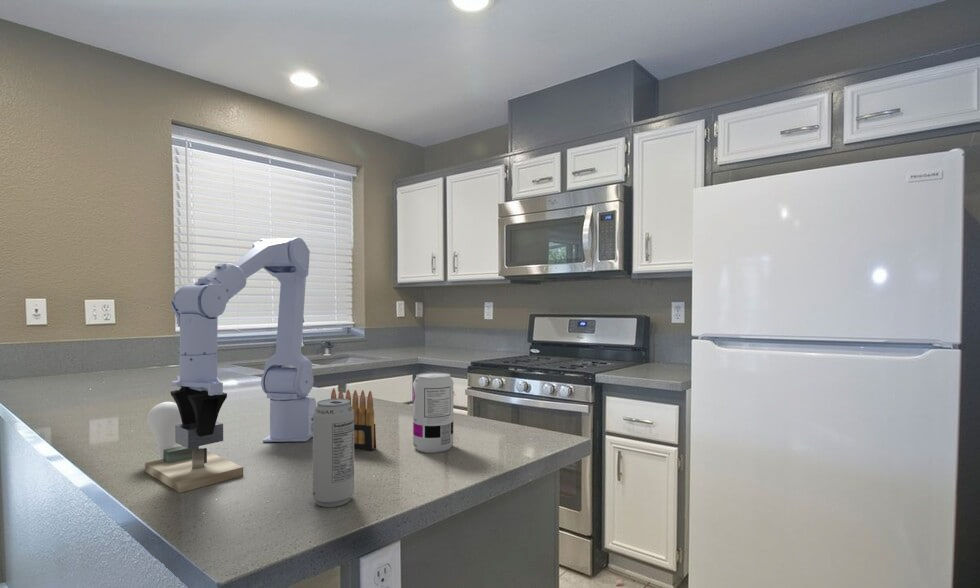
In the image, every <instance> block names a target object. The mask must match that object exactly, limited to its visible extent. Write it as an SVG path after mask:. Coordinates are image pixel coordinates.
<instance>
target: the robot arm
mask: <svg viewBox="0 0 980 588" xmlns="http://www.w3.org/2000/svg"><path fill="white" fill-rule="evenodd" d="M310 253H311V251H310V249H309V247H308V245H307V243H306V242H305V240H304V239H302V238H301V237H292V238H260V239H259V240H258V241H256V242H253V244H252V247H251V249H249V250H248V251H247V252H246V253H245V254H244V255H243V256H242V257H240V258H239V259H238V260H237V261H236V262H235V263H217V264H216V265H215V266H214V268H215V269H214V270H213V271H211V272H209V273H208V274H206V275H205V276H200V277H199V278H198V279H197V281H196V282H194V284H185V285H182V286H181V287H179V289H178V290H176V292H175V293H174V295H173V299H172V300H171V301H170V306H171V309H172V311H173V313H174V314H175V317H176V325H177V327H178V328H179V367H178V368H179V370H178V371H179V375H176V377H175V378H176V380H173V381H171V386H173V387H178V388H179V389H175V390H172V391H170V395H171V397H172V399H173V400H174V401H175V402H174V403H176V404H177V406H178V409H179V413H180V416H181V421H182V424H185V423H190V422H196V427H197V432H198V435H199V436H200V437H201V436H206V435H211V434H213V432H214V428H215V425H216V421H217V422H218V417H219V414H220V412H221V411H220V410H221V408H222V406H223V404H224V402H225V401H226V400H227V398H228V393H227V392H223V391H224V383H223V382H222V381H220V378H219V377H218V327H219V326H218V317H219V316H221V315H223V314H224V312H225V309H226V307H227V303H229V302H230V299H232V298H233V297H234V296H236V295H237V294H238V293H239V292H240V291H242V290H243V289H245V287H246V286H247V279H248V278H249V277H251V276H253V275H254V274H255V273H257V272H258V271H261V270H262V269H264V270H265V271H266V272H267V273H268V274H269V275H271V277H274V278H276V279H277V280H278V282H279V283H280V288H279V299H278V301H279V302H278V315H277V318H278V319H277V330H276V345H275V346H276V347H275V353H274V354H273V355H271V356H270V357H269V358H268V359H267V360H266V361H265V364H264V365H265V366H264V370H263V372H262V376H261V378H260V384H261V389H262V392H263V393H264V394H266V399H269V434H268V435H267V436H266V437H264V438H263V439H262V442H264V443H267V442H268V443H271V442H272V443H275V442H277V443H278V442H279V443H280V442H281V443H284V442H285V443H286V442H287V443H288V442H308V441H309V440H310V439H311V438H313V413H314V411H315V409H316V407H317V400H316V398H315V397H309V394H310V392H311V391H312V389H313V386H314V382H315V380H314V374H313V365H312V364H313V362H312V361H311V360H310V359H309V358H308V357H306V356H305V355H304V354H302V345H303V344H302V343H303V331H304V315H305V300H306V299H305V296H306V284H307V283H306V282H307V277H308V276H309V270H310V269H309V268H310V255H311V254H310ZM284 366H286V367H284ZM287 366H291V367H287Z"/></svg>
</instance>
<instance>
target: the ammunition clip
mask: <svg viewBox="0 0 980 588" xmlns="http://www.w3.org/2000/svg"><path fill="white" fill-rule="evenodd" d="M372 393H373V392H372V390H369V392H368V394H367V399H366V394H365V390H364V389H362V390H361V393H360V396H358V392H357V390H356V389H355V390H354V391H353V393H352V396H351V391H350V389H347V390H346V393H345V396H344V392H343V389H342V388H340V389H339V392H338V395H337V392H336V389H335V388H332V390H331V393H330V399H348V400H350V405H351V407H352V408H353V410H354V450H358V451H366V452H371V451H374V450H376V449H377V437H376V436H377V435H376V423H375V409H374V399H373V394H372Z"/></svg>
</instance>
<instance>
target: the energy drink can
mask: <svg viewBox="0 0 980 588" xmlns="http://www.w3.org/2000/svg"><path fill="white" fill-rule="evenodd" d="M316 405H317V407H316V409H315V411H314V413H313V436H312V498H313V500H315V501H316V503H315V504H316V505H318V506H319V507H322V508H324V507H325V508H333V507H339V506H343V505H345V504H347V503H349V502H350V501H351V497H353V495H354V493H355V449H354V410H353V408H352V404H351V405H350V400H348V399H345V398H344V399H338V398H337V399H331V398H327V399H322V400H318V401H316Z"/></svg>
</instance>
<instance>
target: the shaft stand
mask: <svg viewBox="0 0 980 588" xmlns="http://www.w3.org/2000/svg"><path fill="white" fill-rule="evenodd" d="M144 472H145V473H147V474H149V475H150V476H152V477H153V478H154V479H156V480H158V481H160V482H161V483H163V484H165V485H166V486H168V487H169V488H171V489H173V490H174V491H176V492H177V493H180V494H181V493H183V492H187V491H191V490H195V489H199V488H202V487H206V486H210V485H214V484H217V483H222V482H224V481H229V480H233V479H237V478H240V477H243V476H244V466H242V465H239V464H238V463H235V462H233V461H231V460H228V459H226V458H224V457H222V456H220V455H217V454H215V453H213V452H211V451H208V448H207V447H203V448H201V447H200V446H198V447H193V448H186V447H184V446H182V445H180V446H174V448H169V449H165V450H163V459H162V458H160V459H156V460H152V461H147V462H144Z"/></svg>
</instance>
